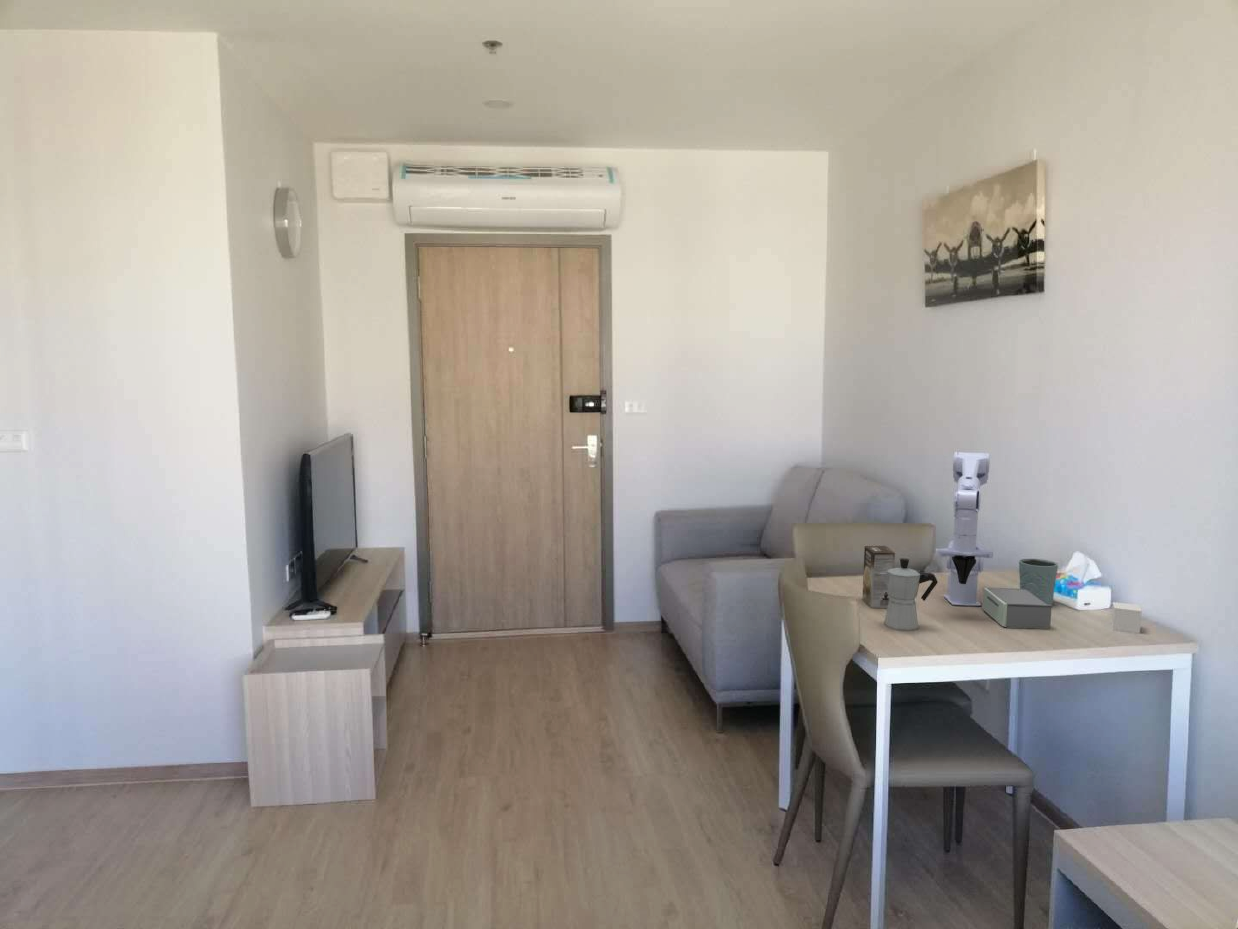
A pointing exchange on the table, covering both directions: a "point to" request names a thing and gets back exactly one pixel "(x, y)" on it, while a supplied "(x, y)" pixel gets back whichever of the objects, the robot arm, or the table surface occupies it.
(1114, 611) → the beige cube
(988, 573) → the table surface
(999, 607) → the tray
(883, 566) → the coffee box
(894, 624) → the coffee maker
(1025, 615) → the grey drawer box
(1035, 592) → the green plant pot
